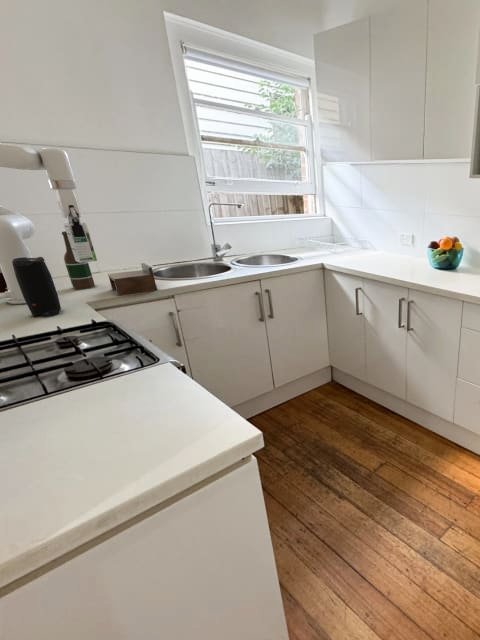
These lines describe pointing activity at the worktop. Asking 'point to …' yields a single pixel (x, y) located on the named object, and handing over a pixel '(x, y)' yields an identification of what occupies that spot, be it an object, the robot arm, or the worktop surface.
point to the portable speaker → (37, 286)
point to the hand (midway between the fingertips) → (78, 235)
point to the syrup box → (81, 244)
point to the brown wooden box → (133, 281)
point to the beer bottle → (77, 268)
